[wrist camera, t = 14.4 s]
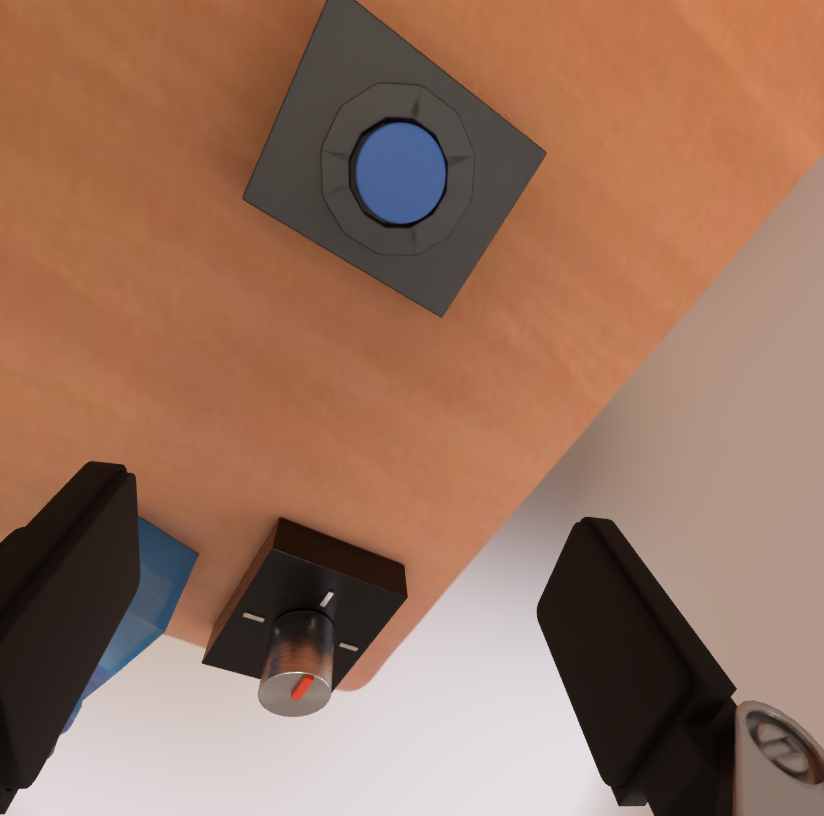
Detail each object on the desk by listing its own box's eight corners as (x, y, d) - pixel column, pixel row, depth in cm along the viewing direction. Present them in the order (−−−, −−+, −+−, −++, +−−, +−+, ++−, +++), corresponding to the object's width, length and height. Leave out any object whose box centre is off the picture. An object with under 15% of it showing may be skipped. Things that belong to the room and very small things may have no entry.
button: (341, 190, 20) (339, 191, 18) (382, 107, 19) (384, 100, 17) (411, 236, 21) (415, 241, 20) (455, 160, 20) (463, 158, 18)
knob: (317, 659, 34) (311, 728, 30) (260, 642, 33) (245, 712, 28) (345, 620, 32) (343, 688, 28) (287, 601, 31) (275, 669, 27)
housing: (251, 197, 23) (231, 200, 19) (336, 1, 20) (330, -37, 16) (436, 308, 26) (447, 328, 23) (532, 154, 23) (563, 150, 20)
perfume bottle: (198, 554, 32) (118, 739, 22) (143, 600, 34) (41, 796, 23) (119, 504, 30) (-16, 684, 19) (62, 556, 31) (-92, 751, 21)
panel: (213, 627, 36) (200, 665, 33) (279, 516, 32) (271, 549, 29) (330, 662, 39) (328, 699, 36) (404, 565, 35) (408, 599, 32)
